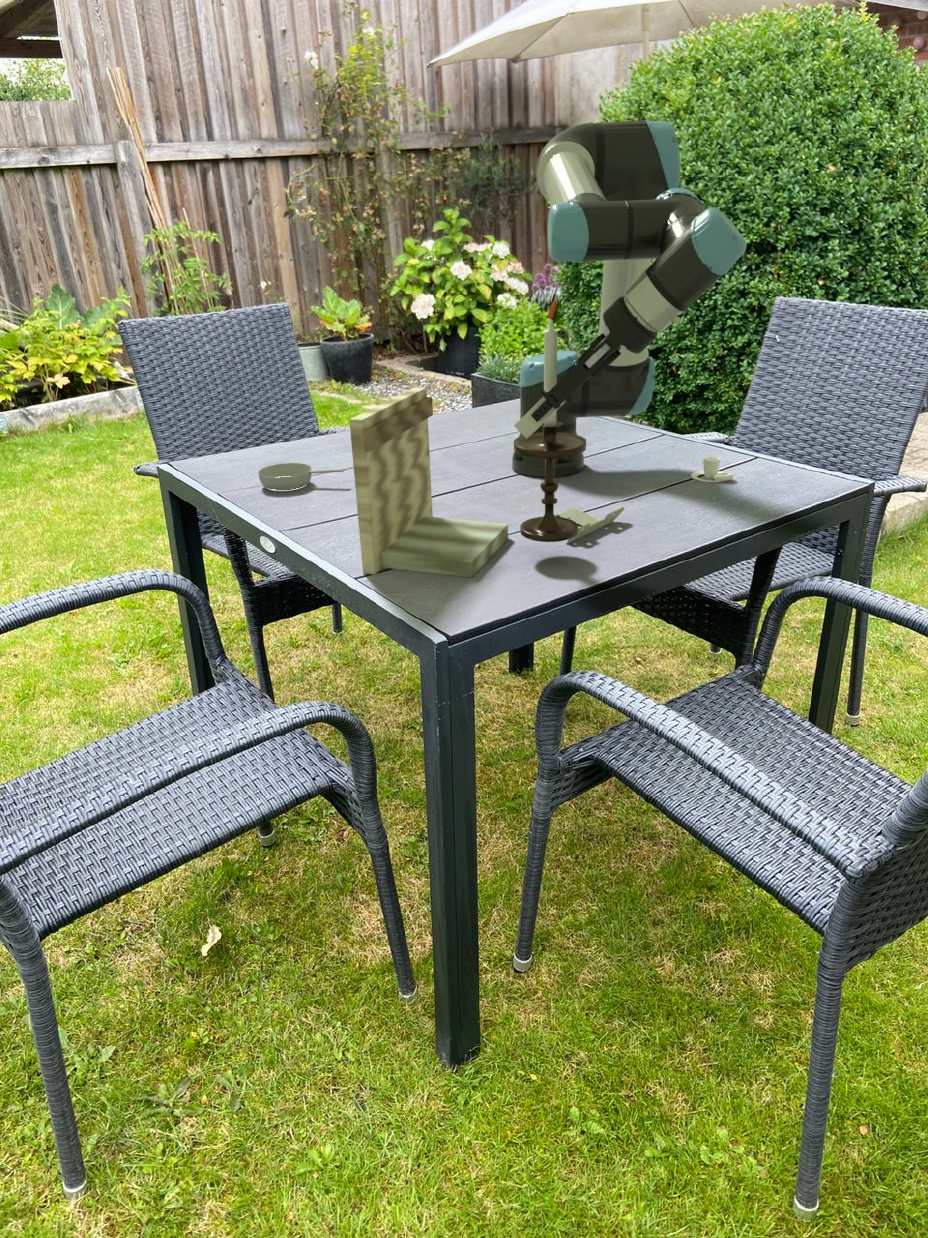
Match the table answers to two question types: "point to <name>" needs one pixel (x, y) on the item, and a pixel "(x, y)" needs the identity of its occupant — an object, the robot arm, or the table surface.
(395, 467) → the pale wooden blocky structure
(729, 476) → the teacup and saucer
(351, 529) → the table surface
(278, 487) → the small pan
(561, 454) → the candlestick
